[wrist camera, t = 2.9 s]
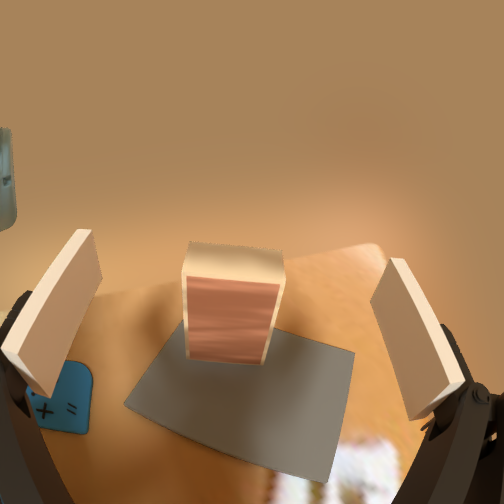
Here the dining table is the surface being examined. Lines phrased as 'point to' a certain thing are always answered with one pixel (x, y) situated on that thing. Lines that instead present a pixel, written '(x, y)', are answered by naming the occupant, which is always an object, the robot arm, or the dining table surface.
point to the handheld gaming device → (65, 401)
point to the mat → (254, 402)
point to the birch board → (230, 301)
